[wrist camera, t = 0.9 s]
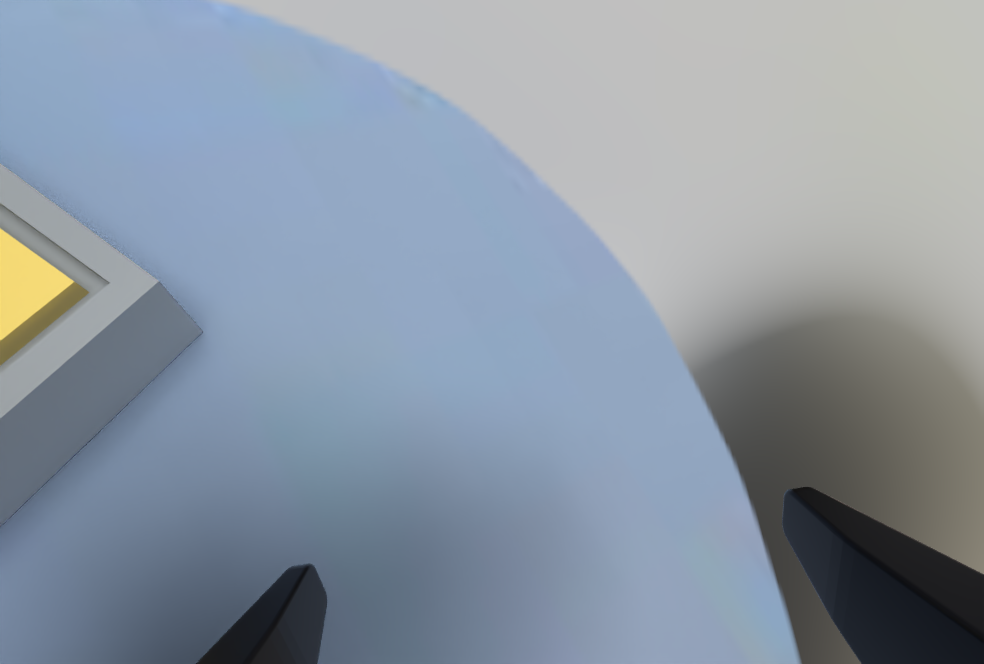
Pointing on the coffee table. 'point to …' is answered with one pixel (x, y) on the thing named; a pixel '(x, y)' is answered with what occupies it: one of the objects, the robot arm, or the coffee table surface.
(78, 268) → the box
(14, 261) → the lid
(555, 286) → the coffee table surface
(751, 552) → the coffee table surface
